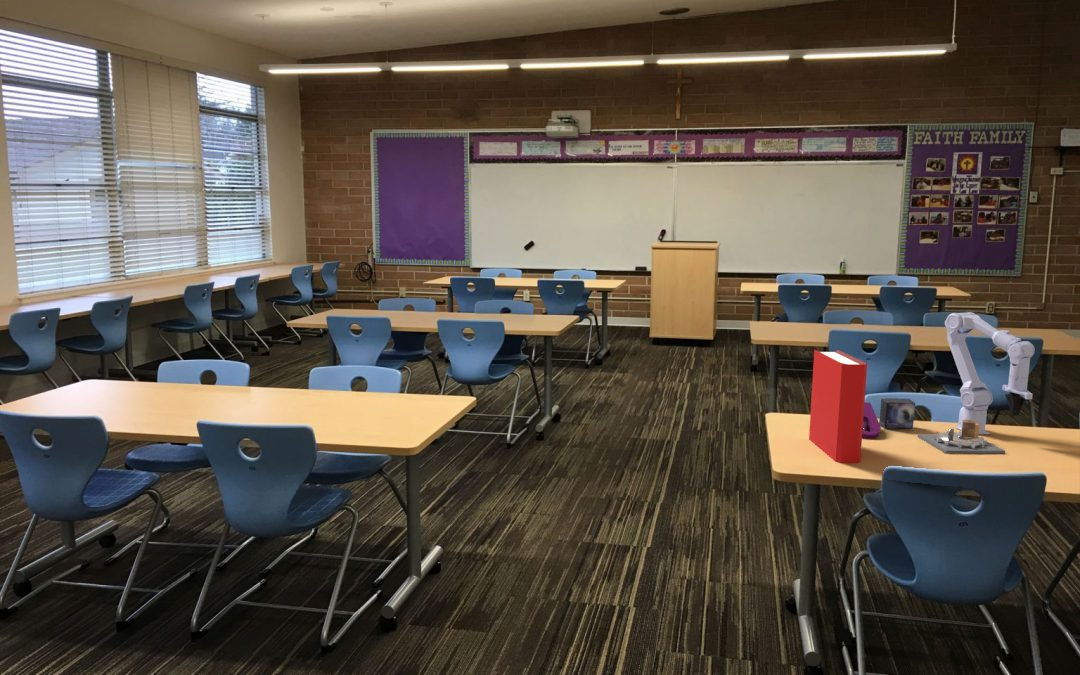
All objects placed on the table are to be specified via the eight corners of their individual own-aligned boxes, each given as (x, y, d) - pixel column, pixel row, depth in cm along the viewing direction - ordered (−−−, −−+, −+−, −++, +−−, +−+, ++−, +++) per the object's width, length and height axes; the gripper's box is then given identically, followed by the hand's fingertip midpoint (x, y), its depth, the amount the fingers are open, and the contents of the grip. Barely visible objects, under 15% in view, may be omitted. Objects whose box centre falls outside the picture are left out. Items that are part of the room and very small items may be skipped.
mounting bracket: (878, 452, 303) (865, 420, 318) (884, 435, 298) (870, 402, 313) (851, 452, 304) (840, 419, 318) (856, 434, 299) (844, 401, 314)
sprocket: (933, 444, 289) (934, 429, 288) (935, 433, 303) (936, 418, 302) (986, 450, 282) (988, 435, 281) (986, 439, 296) (987, 424, 295)
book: (808, 439, 298) (814, 349, 293) (831, 439, 298) (837, 349, 293) (837, 463, 271) (843, 364, 266) (861, 463, 271) (869, 364, 266)
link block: (961, 436, 294) (962, 421, 293) (961, 433, 297) (962, 419, 297) (974, 437, 292) (975, 423, 291) (974, 434, 296) (975, 420, 295)
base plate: (917, 437, 302) (918, 420, 301) (972, 437, 303) (974, 420, 302) (945, 453, 282) (947, 436, 281) (1004, 453, 283) (1006, 436, 282)
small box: (884, 429, 312) (886, 401, 310) (878, 425, 318) (880, 397, 317) (913, 430, 312) (916, 402, 310) (906, 425, 318) (909, 398, 316)
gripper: (995, 372, 299) (991, 409, 302) (1019, 380, 285) (1015, 420, 287) (1015, 372, 300) (1011, 410, 302) (1040, 381, 285) (1036, 420, 287)
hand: (1014, 415), depth 295 cm, fingers closed
